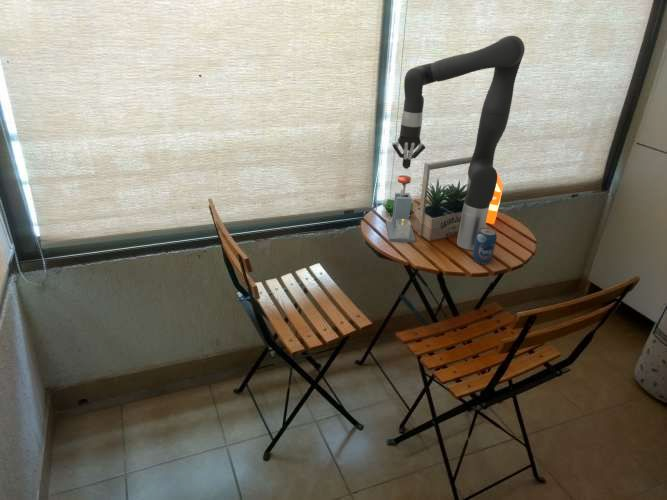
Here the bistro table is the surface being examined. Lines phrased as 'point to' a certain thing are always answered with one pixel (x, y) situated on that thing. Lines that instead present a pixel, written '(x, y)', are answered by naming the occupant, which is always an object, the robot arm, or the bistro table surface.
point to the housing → (402, 228)
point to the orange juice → (495, 202)
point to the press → (400, 217)
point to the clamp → (390, 207)
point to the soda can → (484, 245)
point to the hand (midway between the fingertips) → (405, 168)
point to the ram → (403, 183)
